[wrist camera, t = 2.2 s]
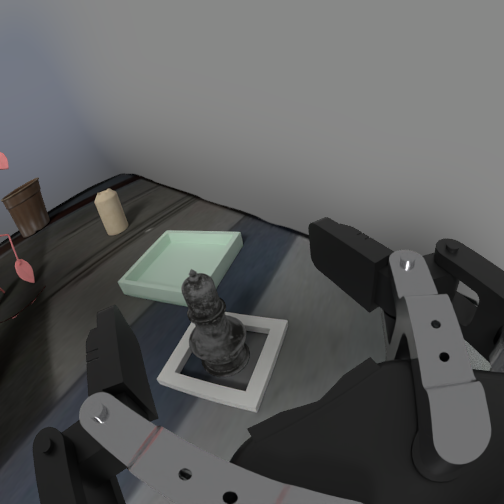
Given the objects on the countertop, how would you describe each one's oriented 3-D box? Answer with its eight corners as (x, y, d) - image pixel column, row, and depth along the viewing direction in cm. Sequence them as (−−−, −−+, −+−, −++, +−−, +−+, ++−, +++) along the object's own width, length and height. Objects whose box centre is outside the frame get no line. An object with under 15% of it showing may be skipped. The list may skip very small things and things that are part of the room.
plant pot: (30, 224, 87) (14, 188, 78) (60, 211, 88) (45, 172, 79) (12, 246, 74) (-7, 205, 65) (44, 232, 75) (24, 188, 66)
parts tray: (124, 294, 42) (117, 282, 41) (170, 242, 53) (166, 230, 51) (203, 309, 37) (198, 295, 35) (243, 245, 48) (240, 232, 46)
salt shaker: (190, 354, 31) (148, 270, 24) (233, 328, 33) (205, 241, 27) (216, 389, 27) (173, 305, 20) (263, 358, 29) (240, 267, 22)
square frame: (160, 384, 28) (156, 379, 27) (202, 313, 36) (200, 308, 35) (257, 412, 24) (255, 408, 23) (288, 326, 32) (287, 320, 31)
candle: (128, 220, 66) (114, 183, 60) (128, 230, 61) (113, 190, 56) (108, 229, 64) (93, 192, 59) (107, 238, 60) (90, 199, 54)
